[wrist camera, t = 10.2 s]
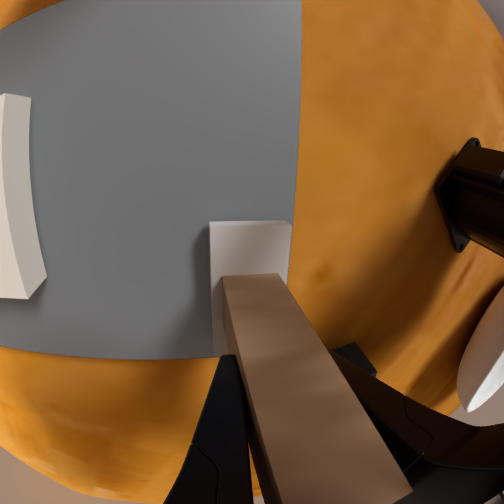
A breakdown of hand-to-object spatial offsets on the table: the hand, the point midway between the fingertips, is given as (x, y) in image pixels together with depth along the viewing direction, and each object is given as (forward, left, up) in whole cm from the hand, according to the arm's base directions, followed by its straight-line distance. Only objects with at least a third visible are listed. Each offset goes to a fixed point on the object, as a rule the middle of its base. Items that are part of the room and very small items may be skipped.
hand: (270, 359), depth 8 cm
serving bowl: (-30, -16, -6) cm, 35 cm away
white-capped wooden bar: (0, 0, -4) cm, 4 cm away
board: (+10, +3, -6) cm, 12 cm away
